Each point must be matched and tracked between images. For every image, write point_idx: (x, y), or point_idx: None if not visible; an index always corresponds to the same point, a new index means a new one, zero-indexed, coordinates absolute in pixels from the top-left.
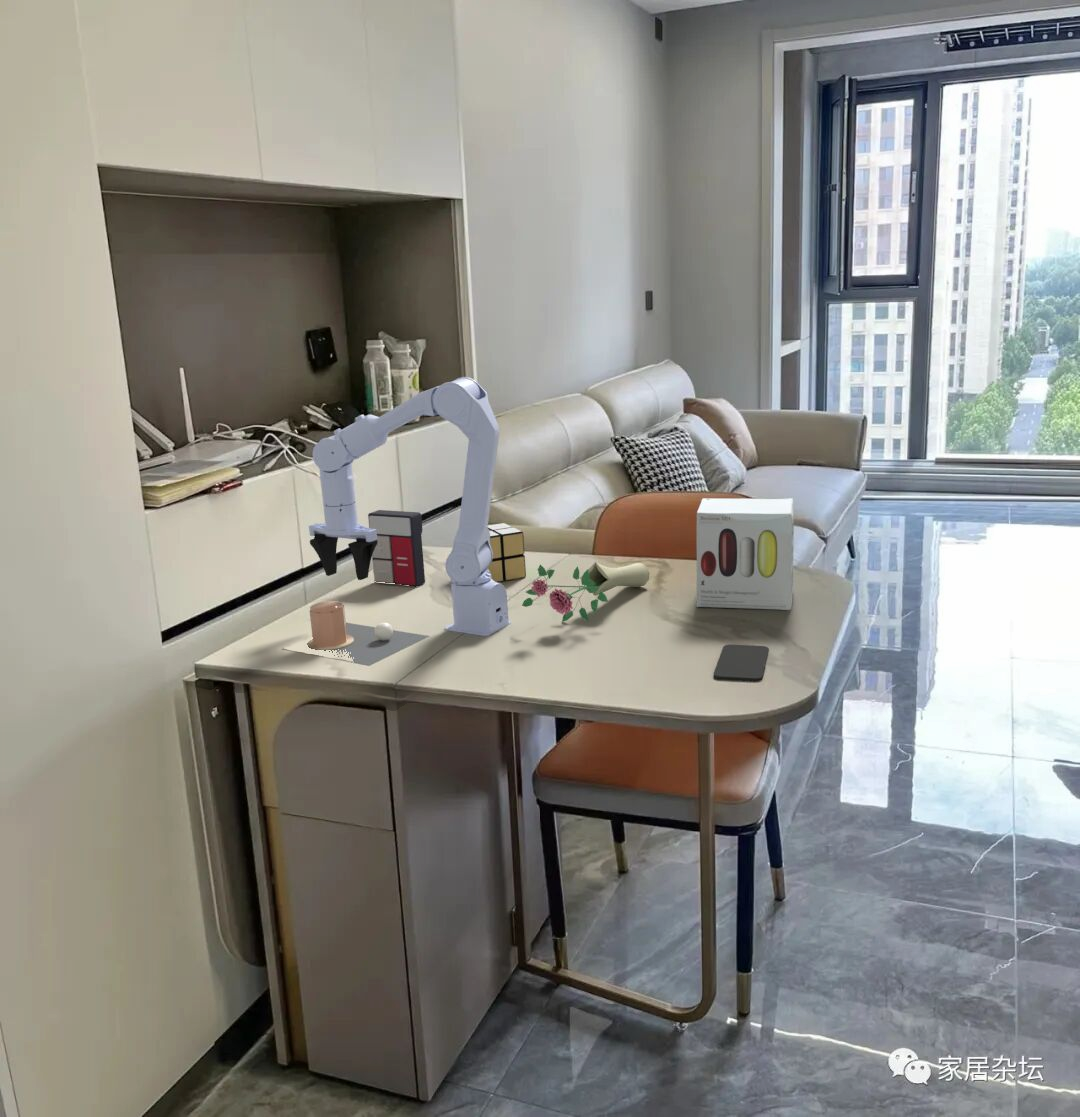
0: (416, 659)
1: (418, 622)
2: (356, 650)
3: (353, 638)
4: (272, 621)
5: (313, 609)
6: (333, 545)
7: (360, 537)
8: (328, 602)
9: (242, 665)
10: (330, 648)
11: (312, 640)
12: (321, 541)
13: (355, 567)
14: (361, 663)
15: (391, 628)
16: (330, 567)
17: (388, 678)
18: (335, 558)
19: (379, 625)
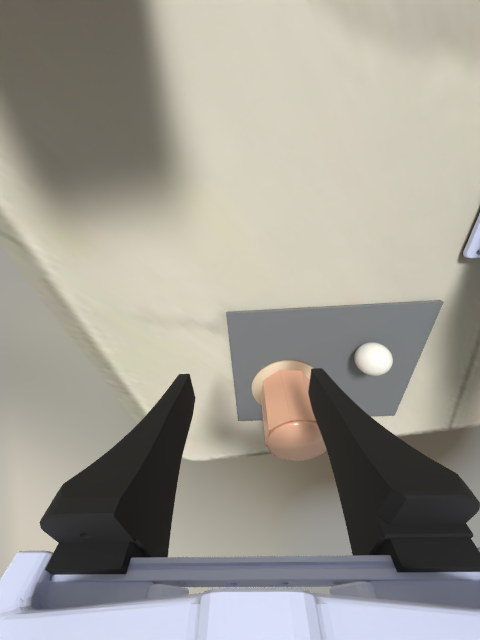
0: (449, 374)
1: (372, 232)
2: (344, 390)
3: (312, 368)
4: (98, 351)
5: (289, 459)
6: (154, 469)
7: (413, 584)
8: (286, 432)
9: (234, 452)
10: None
11: (257, 395)
12: (160, 550)
13: (322, 435)
14: (379, 415)
15: (392, 358)
16: (188, 410)
17: (433, 422)
18: (173, 410)
19: (376, 374)
